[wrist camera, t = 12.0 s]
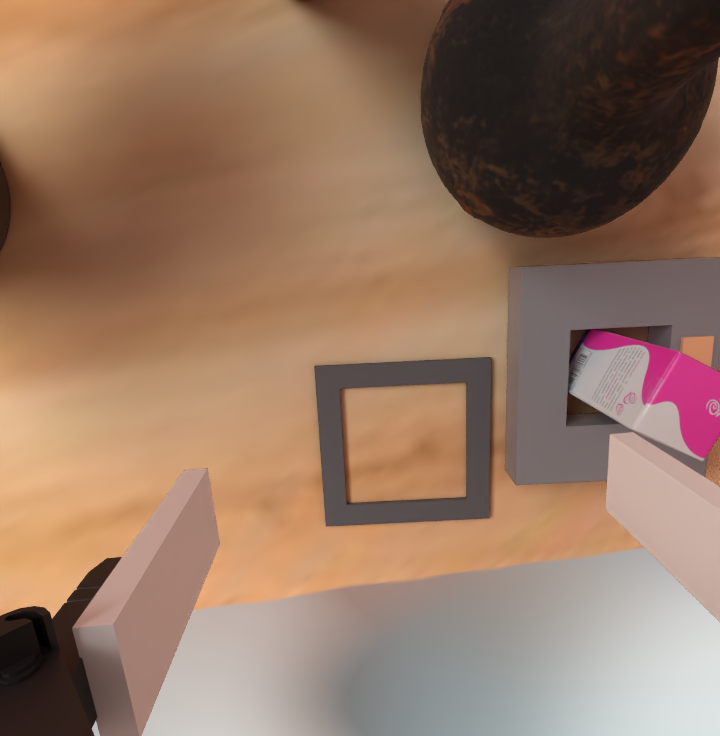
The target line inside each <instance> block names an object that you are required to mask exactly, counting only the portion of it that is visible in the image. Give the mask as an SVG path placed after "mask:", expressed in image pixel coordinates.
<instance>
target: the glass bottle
mask: <svg viewBox="0 0 720 736" xmlns="http://www.w3.org/2000/svg"><path fill="white" fill-rule="evenodd" d="M719 57H720V0H449V2H448V3H447V5H446V6H445V8H444V10H443V12H442V15H441V17H440V20H439V22H438V24H437V27H436V29H435V31H434V33H433V36H432V39H431V41H430V44H429V47H428V50H427V55H426V59H425V63H424V69H423V77H422V84H421V120H422V128H423V134H424V138H425V142H426V146H427V149H428V153H429V155H430V158H431V161H432V163H433V166H434V167H435V169H436V171H437V173H438V175H439V177H440V179H441V181H442V182H443V184H444V185H445V187H446V188H447V189H448V191H449V192H450V193H451V194H452V196H453V197H454V198H455V199H456V200H457V201H458V202H459V204H460V206H461V207H462V208H463V210H464V211H466V212H468V214H470V215H472V216H473V217H474V218H477V219H480V220H481V221H484V222H485V223H487V224H489V225H491V226H494V227H496V228H498V229H501V230H503V231H506V232H509V233H513V234H517V235H522V236H529V237H561V236H568V235H573V234H577V233H582V232H585V231H588V230H591V229H594V228H597V227H600V226H602V225H604V224H607V223H608V222H611V221H613V220H614V219H616V218H618V217H619V216H621V215H623V214H624V213H626V212H628V211H629V210H631V209H632V208H634V207H635V206H637V205H638V204H639V203H641V202H642V201H643V200H644V199H646V198H647V197H648V196H649V195H650V194H651V193H652V192H653V191H654V190H655V189H657V188H658V187H659V186H660V185H661V184H662V183H663V182H664V181H665V180H666V178H667V177H668V176H669V175H670V174H671V172H672V171H673V170H674V169H675V168H676V166H677V165H678V163H679V162H680V161H681V160H682V158H683V157H684V155H685V154H686V153H687V151H688V149H689V148H690V146H691V144H692V143H693V141H694V139H695V137H696V136H697V134H698V132H699V130H700V128H701V125H702V122H703V120H704V117H705V115H706V113H707V110H708V107H709V104H710V101H711V98H712V94H713V90H714V86H715V81H716V75H717V68H718V59H719Z"/></svg>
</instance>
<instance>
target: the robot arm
mask: <svg viewBox="0 0 720 736" xmlns="http://www.w3.org/2000/svg"><path fill="white" fill-rule="evenodd" d="M9 218H10V200H9V192H8V186H7V182H6V178H5V175H4V172H3V169H2V167H1V164H0V249H1V247H2V245H3V242H4V240H5V237H6V234H7V230H8V225H9ZM606 510H607V511H608V512H609V513H610V514H611V515H612V516H613V517H614V518H615V519H616V520H617V521H618V522H619V523H620V524H621V525H622V526H623V527H624V528H625V529H626V530H627V531H628V532H629V533H630V534H631V535H632V536H633V537H634V538H635V539H636V540H637V541H638V542H639V543H640V544H641V545H642V546H643V547H644V548H645V549H646V550H647V551H648V552H649V553H650V554H651V555H652V556H653V557H654V558H655V559H656V560H657V561H658V562H659V563H660V564H661V565H662V566H663V567H664V568H666V570H667V571H669V573H670V574H671V575H672V576H673V577H674V578H676V579H677V580H678V581H679V582H680V583H681V584H682V585H683V586H684V587H685V588H686V589H687V590H688V591H689V592H690V593H691V594H692V595H693V596H694V597H695V598H696V599H697V600H698V601H699V602H700V603H701V604H702V605H703V606H704V607H705V608H706V609H707V610H708V611H709V612H710V613H711V614H712V615H713V616H714V617H715V618H716V619H717V620H718V621H719V622H720V487H719V486H718V485H716V484H715V483H713V482H711V481H710V480H708V479H707V478H705V477H703V476H702V475H700V474H699V473H697V472H695V471H694V470H692V469H691V468H689V467H688V466H686V465H684V464H683V463H681V462H680V461H678V460H676V459H675V458H673V457H672V456H670V455H668V454H667V453H665V452H664V451H662V450H660V449H659V448H657V447H656V446H654V445H653V444H651V443H649V442H648V441H646V440H645V439H643V438H641V437H640V436H638V435H637V434H635V433H633V432H629V433H617V434H610V441H609V459H608V477H607V495H606ZM219 545H220V540H219V534H218V528H217V522H216V516H215V510H214V504H213V498H212V492H211V486H210V480H209V474H208V468H205V469H193V470H184V471H183V472H182V473H181V475H180V476H179V478H178V479H177V481H176V482H175V483H174V485H173V486H172V488H171V489H170V490H169V492H168V493H167V495H166V496H165V497H164V499H163V500H162V502H161V503H160V505H159V506H158V507H157V509H156V510H155V512H154V513H153V514H152V516H151V517H150V519H149V520H148V521H147V523H146V524H145V526H144V527H143V529H142V530H141V531H140V533H139V534H138V536H137V537H136V538H135V540H134V541H133V543H132V544H131V545H130V547H129V548H128V550H127V551H126V553H125V554H124V555H123V557H117V558H107V559H106V560H104V561H103V562H102V563H100V564H99V565H98V566H96V567H95V568H94V569H92V570H91V571H90V572H89V573H88V574H87V575H86V576H85V578H84V579H83V580H82V581H81V583H80V584H79V585H78V587H77V590H74V592H73V593H72V594H71V596H70V597H69V598H68V599H67V603H64V605H63V606H62V607H61V608H60V610H59V611H58V612H57V614H56V615H55V616H54V617H53V619H52V618H51V615H50V612H49V611H48V610H46V609H45V608H43V607H36V606H32V607H26V608H20V609H17V610H14V611H11V612H9V613H6V614H3V615H1V616H0V736H94V733H93V731H92V726H93V725H94V723H95V721H97V725H98V729H99V733H100V736H141V735H142V733H143V730H144V728H145V725H146V723H147V721H148V718H149V716H150V713H151V711H152V708H153V706H154V703H155V701H156V699H157V696H158V694H159V691H160V689H161V686H162V684H163V681H164V679H165V677H166V674H167V671H168V669H169V667H170V664H171V662H172V659H173V657H174V655H175V652H176V650H177V647H178V645H179V642H180V640H181V637H182V635H183V632H184V630H185V628H186V625H187V623H188V620H189V618H190V616H191V613H192V611H193V608H194V606H195V603H196V601H197V599H198V596H199V594H200V591H201V589H202V586H203V584H204V581H205V579H206V577H207V574H208V572H209V569H210V567H211V564H212V562H213V559H214V557H215V555H216V552H217V550H218V547H219Z"/></svg>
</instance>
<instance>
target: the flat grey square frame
mask: <svg viewBox="0 0 720 736" xmlns="http://www.w3.org/2000/svg"><path fill="white" fill-rule="evenodd" d="M315 380H316V394H317V408H318V422H319V436H320V450H321V464H322V478H323V492H324V506H325V521H326V526H344V525H364V524H384V523H404V522H423V521H443V520H463V519H483V518H489V496H490V408H491V358H490V357H484V358H464V359H444V360H424V361H404V362H384V363H364V364H344V365H324V366H315ZM460 382H466V497H461V498H441V499H421V500H401V501H381V502H361V503H347V502H346V485H345V469H344V452H343V435H342V419H341V402H340V388H360V387H380V386H400V385H420V384H440V383H460Z"/></svg>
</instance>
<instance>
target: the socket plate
mask: <svg viewBox="0 0 720 736" xmlns="http://www.w3.org/2000/svg"><path fill="white" fill-rule="evenodd" d="M642 326H649V332H648V343H651V344H654V345H658V346H661V347H665V348H669V349H673V350H677V351H680V352H682V353H684V354H686V355H688V356H690V357H692V358H694V359H696V360H698V361H699V362H701V363H703V364H705V365H707V366H709V367H711V368H713V369H715V370H717V371H718V363H719V354H720V257H700V258H680V259H660V260H640V261H620V262H600V263H580V264H560V265H540V266H520V267H509V291H508V344H507V397H506V449H505V471H506V472H507V473H508V475H509V476H510V478H511V479H512V480H513V482H514V483H515V485H529V484H549V483H569V482H589V481H607V477H608V459H609V441H610V434H617V433H629V432H633V433H635V434H637V435H638V436H640V437H641V438H643V439H645V440H646V441H648V442H649V443H651V444H653V445H654V446H656V447H657V448H659V449H660V450H662V451H664V452H665V453H667V454H668V455H670V456H672V457H673V458H675V459H676V460H678V461H680V462H681V463H683V464H684V465H686V466H688V467H689V468H691V469H692V470H694V471H695V472H697V473H699V474H700V475H702V476H705V473H706V465H707V456H708V454H707V456H706V457H705V459H704V461H700V460H698V459H696V458H693V457H691V456H689V455H686V454H684V453H682V452H679V451H677V450H675V449H673V448H670V447H668V446H666V445H663V444H661V443H659V442H657V441H654V440H652V439H650V438H648V437H645V436H643V435H641V434H639V433H637V432H635V431H633V430H631V429H629V428H627V427H626V426H624V425H622V424H621V423H619V422H617V421H616V420H614V419H612V418H611V417H609V416H607V415H606V414H604V413H584V414H567V395H568V374H569V353H570V332H571V330H582V329H602V328H622V327H642Z"/></svg>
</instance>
